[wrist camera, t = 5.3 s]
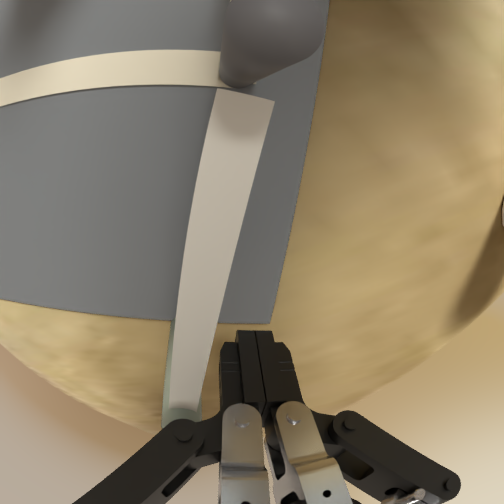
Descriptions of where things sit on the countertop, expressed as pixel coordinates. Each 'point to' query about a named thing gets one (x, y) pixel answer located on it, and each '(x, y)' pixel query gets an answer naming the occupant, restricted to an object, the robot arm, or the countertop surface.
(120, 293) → the card
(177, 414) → the fence gate
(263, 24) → the bar
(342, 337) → the countertop surface
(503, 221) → the white cup
